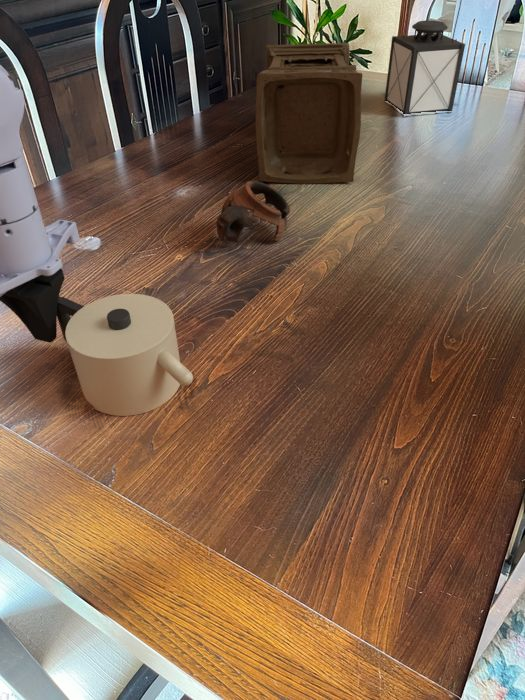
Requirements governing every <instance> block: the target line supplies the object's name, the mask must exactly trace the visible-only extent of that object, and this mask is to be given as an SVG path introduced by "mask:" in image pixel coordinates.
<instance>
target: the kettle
mask: <svg viewBox="0 0 525 700" xmlns="http://www.w3.org/2000/svg"><path fill="white" fill-rule="evenodd" d="M174 317H175V316H174V314H173V312H172V310H171V308H170V306H169V305H168V304H166V303H165V302H164V301H162V300H161V299H160V298H159V299H158V298H156V297H154V296H150V295H147V294H142V293H141V294H140V293H121V294H119V293H118V294H115V295H109V296H105V297H102V298H99V299H96V300H94V301H92V302H90V303H88V304H86V305H85V306H84V305H82V304H80V303H79V302H78V303H77V302H75V301H73V300H71V299H68V298H67V297H65V296H59V298H58V304H57V322H58V324H59V328H60V332H61V334H62V338H63V339H64V341H65V342H66V344H67V347H68V351H69V353H70V356H71V359H72V362H73V365H74V369H75V372H76V375H77V378H78V381H79V385H80V389H81V391H82V394H83V397H84V398H85V400H86V401H87V402H88V403H89V404H90V405H91V406H92V408H93V409H95V410H96V411H98V412H100V413H103V414H106V415H110V416H115V417H129V416H130V417H131V416H136V415H141V414H145V413H148V412H151V411H153V410H156V409H158V408H159V407H161V406H162V405H164V404H166V403H167V402H168V401H170V400H171V398H173V397H174V395H175V394H176V393H177V392H178V390H179V388H180V386H183V387H185V386H186V387H187V386H190V384H192V382H193V381H194V375H193V373H192V372H191V370H189V369H188V368H187V367H186V366H185V365H184V364H182V362H181V359H180V358H181V357H180V352H179V344H178V338H177V332H176V325H175V318H174Z"/></svg>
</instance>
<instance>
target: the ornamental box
mask: <svg viewBox="0 0 525 700" xmlns="http://www.w3.org/2000/svg"><path fill="white" fill-rule="evenodd" d="M265 52H266V53H265V69H266V70H262V71H261V72H260V71H259V73H257V75H256V94H255V95H256V97H255V145H256V154H257V163H258V178H257V181H258V182H262V183H265V182H267V183H279V184H298V185H299V184H300V185H309V184H312V185H314V184H327V183H328V184H330V183H354V181H355V168H356V160H357V155H358V149H359V143H360V138H361V127H362V87H363V86H362V84H363V73H362V72H358V71H357V65H356V64H350V55H351V54H350V52H351V51H350V43H348V42H334V43H329V42H328V43H296V44H295V43H293V44H291V43H290V44H275V45H274V44H271V45H270V44H266V45H265Z"/></svg>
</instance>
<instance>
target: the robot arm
mask: <svg viewBox="0 0 525 700" xmlns="http://www.w3.org/2000/svg"><path fill="white" fill-rule="evenodd" d="M9 77H10V74H9V73H8V71H7V70H6V69H5V68H4V67H3V66H2V64H0V302H1V303H3V304H4V305H5V306H6V307H7V308H8V309H10V311H12V312H13V313H14V314H15V315H16V317H17V318H18V319H20V321H21V322H22V323H23V324H24V326H25V327H26V328H27V329H28V331H29V333H30V334H31V335H32V337H33V338H34V340H36V341H37V340H38V341H41V342H45V343H49V344H51V343H53V342H54V341H55V340H56V339H57V336H58V335H57V329H58V328H57V327H58V326H57V322H58V318H57V304H58V298H59V297H60V293H61V291H62V286H63V285H64V281H65V279H66V278H65V275H64V271H63V269H62V268H63V267H64V266H63V262H62V259H61V258H60V254H61V253H62V252H63V249H64V248H65V247H66V246H67V245H68V244H70V245H75V244H77V243H78V242H79V241H80V240H81V238H80V234H79V230H78V226H77V223H76V222H75V221H71V220H65V219H60V218H59V219H57V220H56V221H54V222H52V223H51V224H49V225H46V226H45V223H44V219H43V216H42V213H41V209H40V206H39V202H38V199H37V195H36V193H35V189H34V185H33V183H32V179H31V175H30V172H29V168H28V165H27V161H26V158H25V155H24V151H23V149H24V146H23V142H22V138H21V134H20V128H21V124H22V121H23V118H24V114H25V94H24V91H23V90H22V89H21V88H18V87H16V86H15V83H14V81H13V79H10V78H9Z"/></svg>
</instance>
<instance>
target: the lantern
mask: <svg viewBox="0 0 525 700" xmlns="http://www.w3.org/2000/svg"><path fill="white" fill-rule="evenodd" d="M462 1H463V0H460V1H459V8H458V11H457V15H456V19H455V24H454V29H453V33H452V38H451V37H450V36H447V35H444V32H445V31H446V30H448V28H449V27H448V25H447V24H446V23H445V22H443V21H441V20H419V21H417V22H415V23H414V24H412V27H411V28H412V29H414V34H410V35H405V31H406V25H407V19H408V13H409V12H408V11H409V6H410V0H407V5H406V12H405V20H404V27H403V33H402V35H393V36H391V43H390V52H389V61H388V68H387V76H386V83H385V85H386V86H385V92H384V101H388V102H389V103H391V104H392V105H394V106H395V107H396V108H398V109H399V110H400V111H402V112H403V114H411V113H421V112H436V111H452V112H453V109H454V103H455V99H456V95H457V88H458V83H459V78H460V72H461V69H462V64H463V57H464V53H465V49H466V43H464V42H461V41H459V40H456V39H455V38H454V36H455V33H456V28H457V24H458V20H459V16H460V10H461V7H462Z"/></svg>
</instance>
